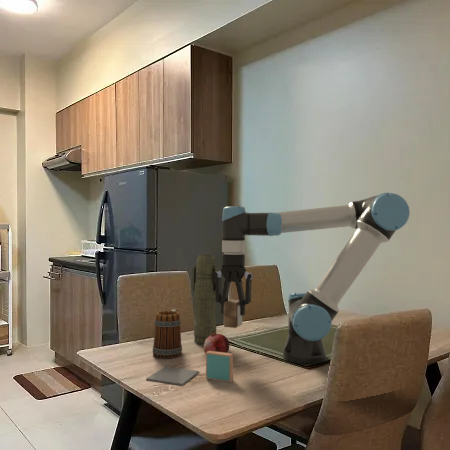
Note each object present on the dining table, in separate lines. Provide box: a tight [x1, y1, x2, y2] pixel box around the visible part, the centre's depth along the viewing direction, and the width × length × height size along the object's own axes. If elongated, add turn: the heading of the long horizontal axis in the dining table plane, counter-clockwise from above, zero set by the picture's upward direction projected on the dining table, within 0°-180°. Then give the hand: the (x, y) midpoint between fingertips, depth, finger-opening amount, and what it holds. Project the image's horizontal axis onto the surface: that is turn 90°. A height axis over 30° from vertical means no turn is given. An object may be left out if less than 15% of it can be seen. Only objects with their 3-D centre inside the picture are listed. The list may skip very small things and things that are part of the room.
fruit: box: [203, 330, 230, 355], centre depth 154 cm, size 9×10×10 cm
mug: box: [152, 308, 183, 359], centre depth 159 cm, size 16×11×15 cm
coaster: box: [146, 366, 200, 386], centre depth 134 cm, size 12×12×1 cm
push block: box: [223, 298, 240, 329], centre depth 143 cm, size 4×6×8 cm, turn 159°
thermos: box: [191, 253, 221, 345], centre depth 175 cm, size 9×12×35 cm
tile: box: [205, 351, 234, 383], centre depth 132 cm, size 8×2×8 cm, turn 69°
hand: (232, 324), depth 143 cm, fingers closed on push block, 4 cm apart
